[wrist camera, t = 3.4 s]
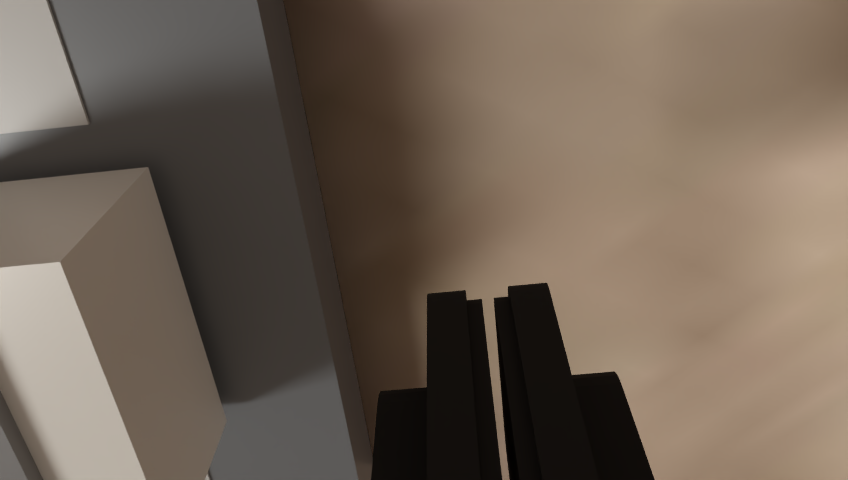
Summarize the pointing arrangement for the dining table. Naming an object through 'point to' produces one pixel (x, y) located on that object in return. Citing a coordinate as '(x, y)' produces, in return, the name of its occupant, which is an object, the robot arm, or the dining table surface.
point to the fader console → (206, 200)
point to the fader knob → (98, 337)
